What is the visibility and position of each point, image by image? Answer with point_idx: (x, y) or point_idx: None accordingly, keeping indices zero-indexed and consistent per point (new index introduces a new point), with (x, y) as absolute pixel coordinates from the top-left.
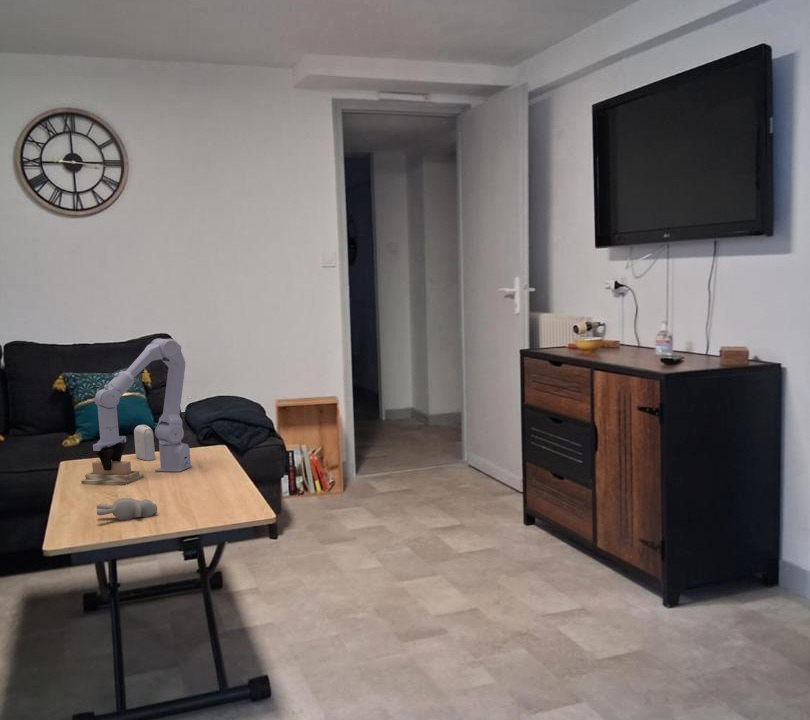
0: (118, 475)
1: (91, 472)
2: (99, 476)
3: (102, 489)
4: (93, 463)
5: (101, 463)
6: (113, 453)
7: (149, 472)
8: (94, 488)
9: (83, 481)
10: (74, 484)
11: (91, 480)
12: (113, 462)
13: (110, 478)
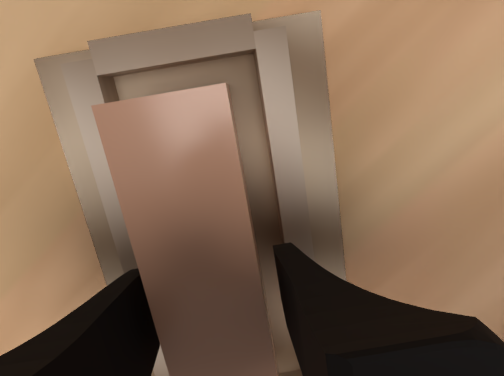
0: (164, 371)
1: (169, 35)
2: (110, 217)
3: (12, 345)
4: (100, 125)
5: (134, 243)
6: (309, 358)
7: (484, 298)
8: (3, 277)
9: (43, 83)
10: (8, 5)
11: (81, 148)
12: (209, 353)
13: None
